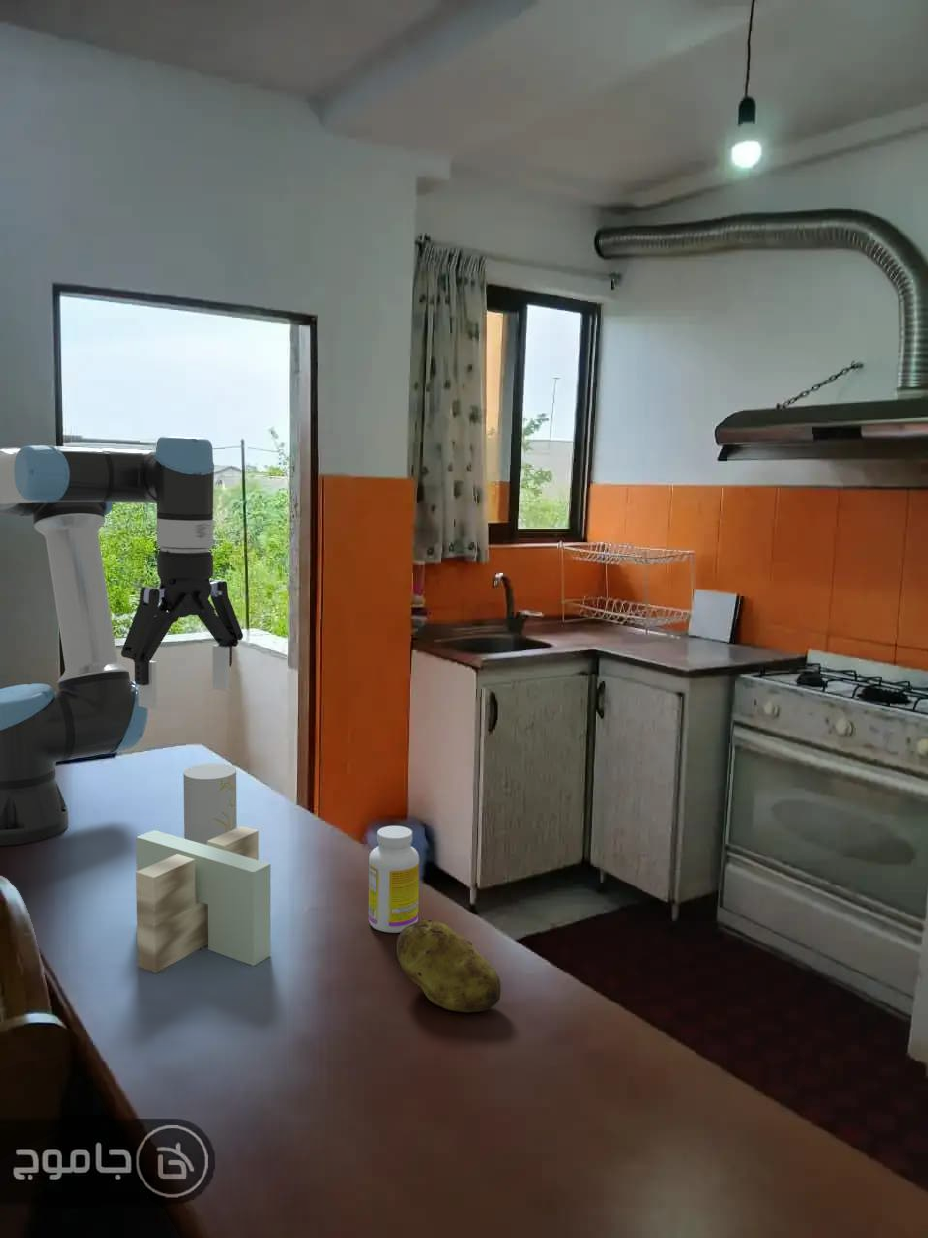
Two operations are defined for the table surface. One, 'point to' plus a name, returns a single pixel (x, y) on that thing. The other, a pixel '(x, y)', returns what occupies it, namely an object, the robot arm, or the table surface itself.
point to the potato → (447, 967)
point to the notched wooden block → (178, 903)
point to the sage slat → (222, 893)
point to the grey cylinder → (209, 801)
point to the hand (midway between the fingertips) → (185, 698)
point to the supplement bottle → (393, 880)
